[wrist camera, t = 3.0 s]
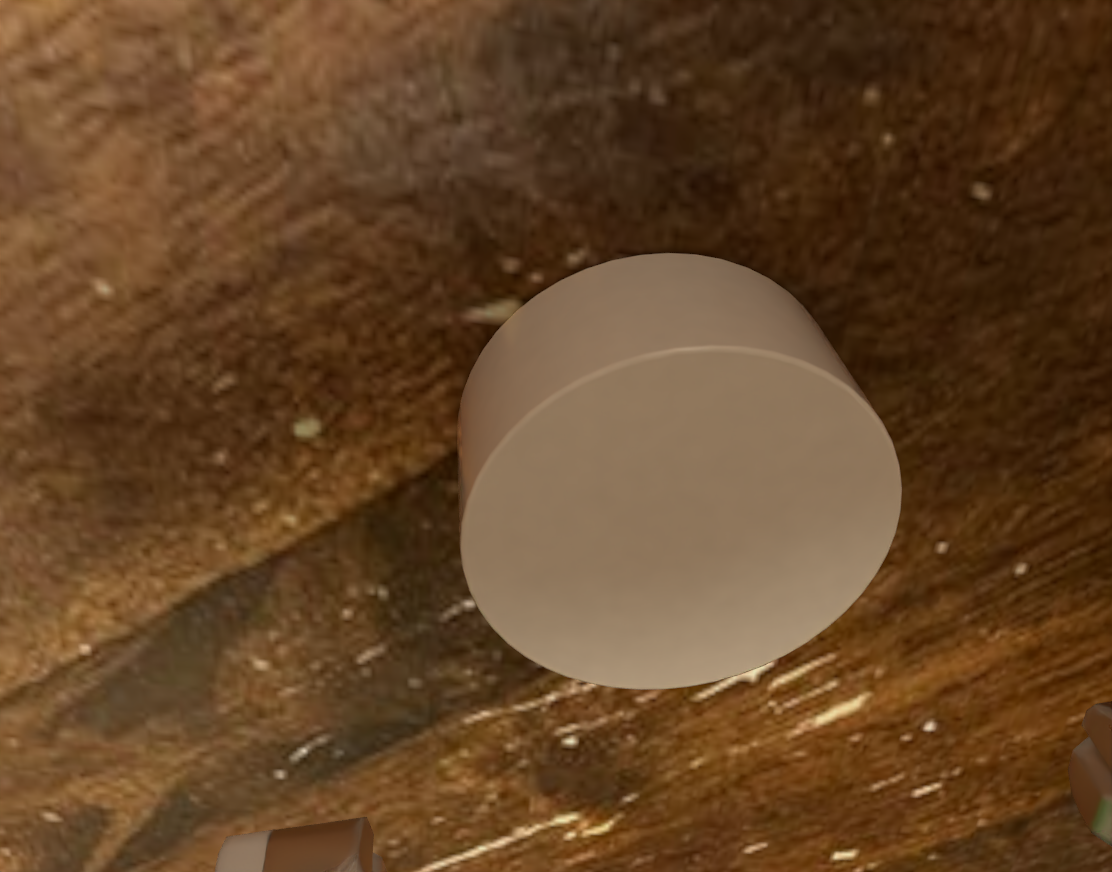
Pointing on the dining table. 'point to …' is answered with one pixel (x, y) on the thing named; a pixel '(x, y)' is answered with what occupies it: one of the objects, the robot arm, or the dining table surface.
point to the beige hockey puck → (668, 475)
